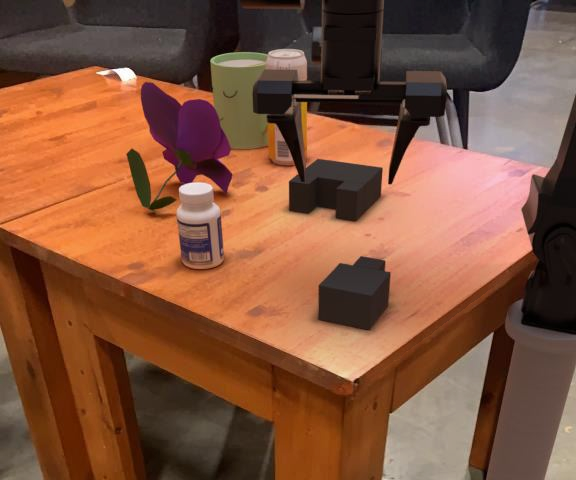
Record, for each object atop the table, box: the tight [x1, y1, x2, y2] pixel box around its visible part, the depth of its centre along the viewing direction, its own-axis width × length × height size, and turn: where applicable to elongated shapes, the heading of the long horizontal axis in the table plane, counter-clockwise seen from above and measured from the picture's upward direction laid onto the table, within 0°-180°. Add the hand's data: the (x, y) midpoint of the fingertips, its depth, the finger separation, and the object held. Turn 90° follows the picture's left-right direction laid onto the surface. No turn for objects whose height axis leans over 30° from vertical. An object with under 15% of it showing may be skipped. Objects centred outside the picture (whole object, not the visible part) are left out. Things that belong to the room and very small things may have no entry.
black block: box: [317, 255, 392, 331], centre depth 84 cm, size 6×9×4 cm
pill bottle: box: [176, 181, 225, 270], centre depth 92 cm, size 5×5×9 cm
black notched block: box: [288, 158, 384, 222], centre depth 107 cm, size 10×10×4 cm
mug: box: [209, 51, 268, 150], centre depth 125 cm, size 13×10×12 cm
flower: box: [126, 81, 233, 213], centre depth 106 cm, size 15×15×14 cm
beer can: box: [266, 48, 308, 166], centre depth 117 cm, size 6×6×15 cm
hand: (346, 182), depth 81 cm, fingers open, 9 cm apart
